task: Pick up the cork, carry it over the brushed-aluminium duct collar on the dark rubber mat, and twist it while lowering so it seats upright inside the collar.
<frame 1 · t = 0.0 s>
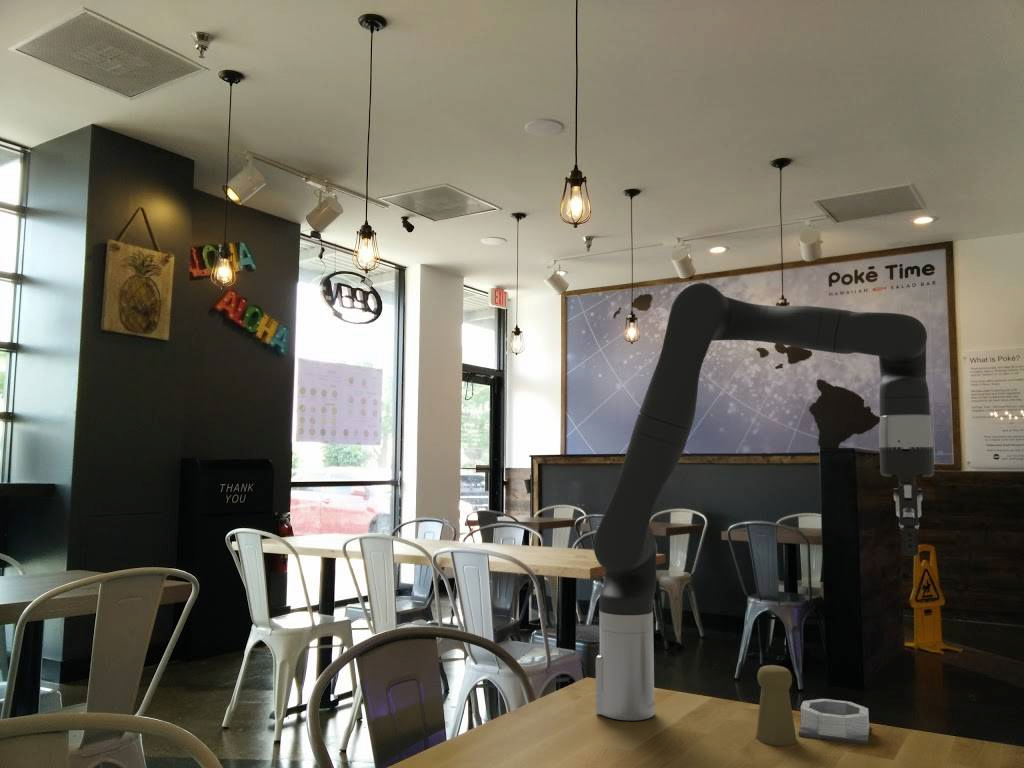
hand: (910, 552, 129), 29 cm above the table, fingers open, 8 cm apart
cork: (776, 740, 132), on the table
duct collar: (835, 731, 136), on the table
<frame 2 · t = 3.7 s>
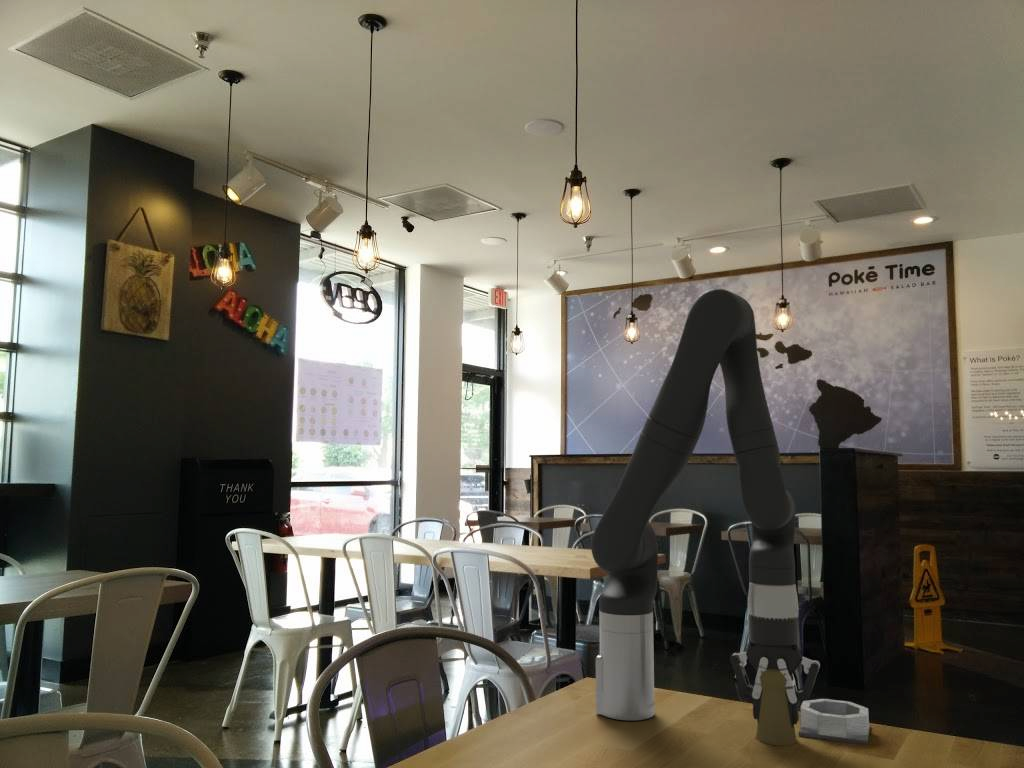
hand: (776, 723, 132), 2 cm above the table, fingers closed on cork, 4 cm apart
cork: (776, 740, 132), on the table, touching gripper
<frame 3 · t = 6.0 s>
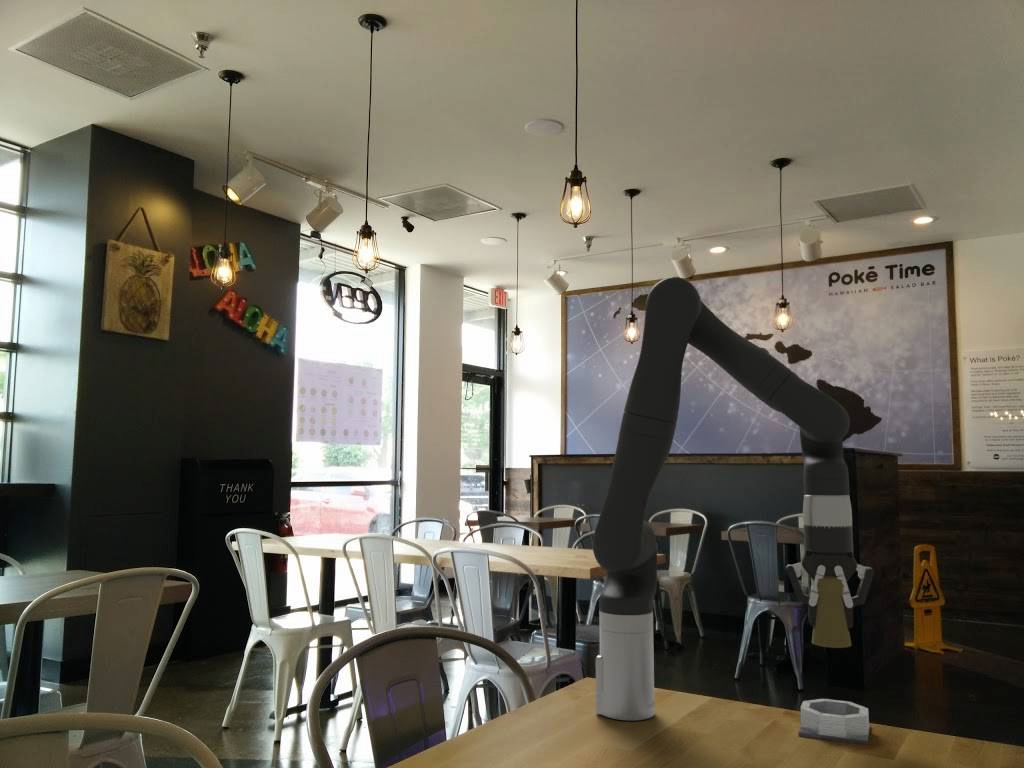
hand: (831, 629, 137), 16 cm above the table, fingers closed on cork, 4 cm apart
cork: (831, 645, 137), point 13 cm above the table, touching gripper
when the fingers open (5 cm above the table, at t = 8.6 s): cork stays where it is, resting on duct collar.
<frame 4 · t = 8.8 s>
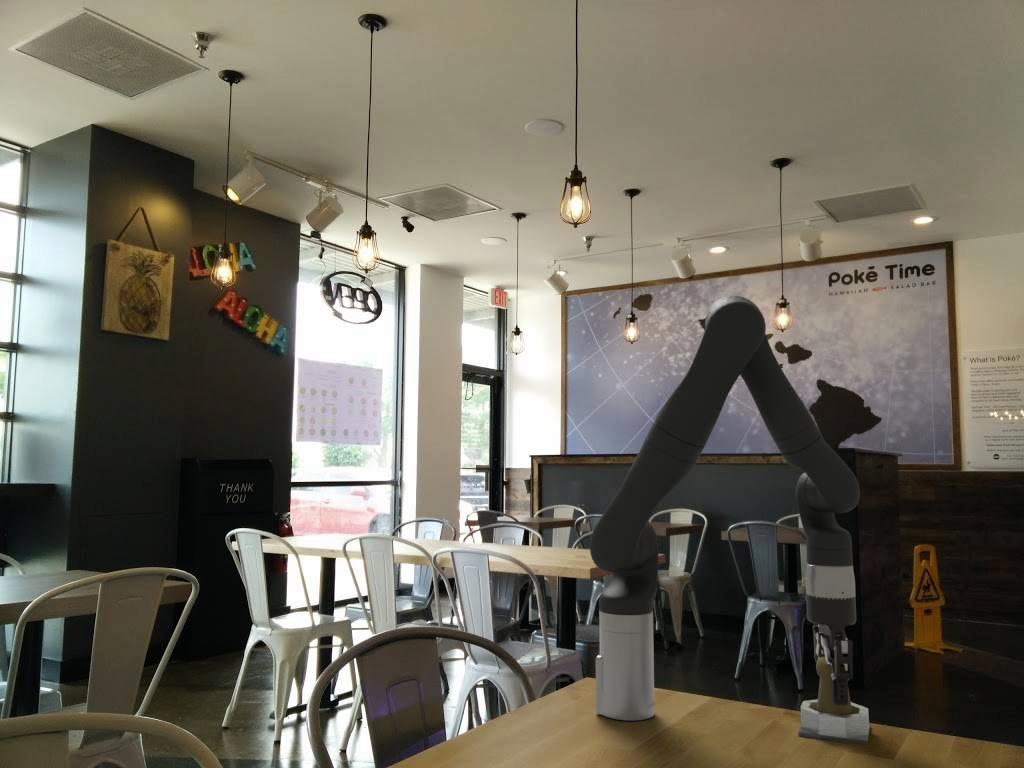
hand: (833, 697, 136), 5 cm above the table, fingers open, 6 cm apart
cork: (835, 729, 135), resting on duct collar
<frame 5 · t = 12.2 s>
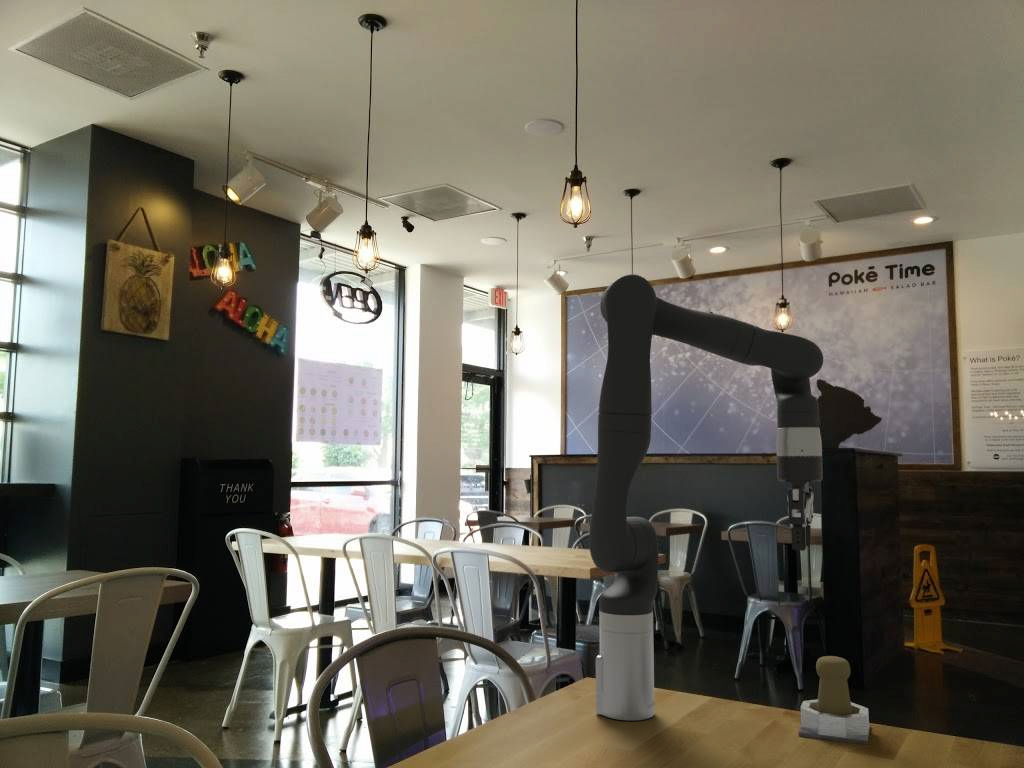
hand: (801, 548, 147), 28 cm above the table, fingers open, 8 cm apart
nothing on the table moved.
at the end: cork 0.3 cm off-centre on the duct collar, point 0.4 cm above the duct collar's base; cork tilted 0°; the gripper is holding nothing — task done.
